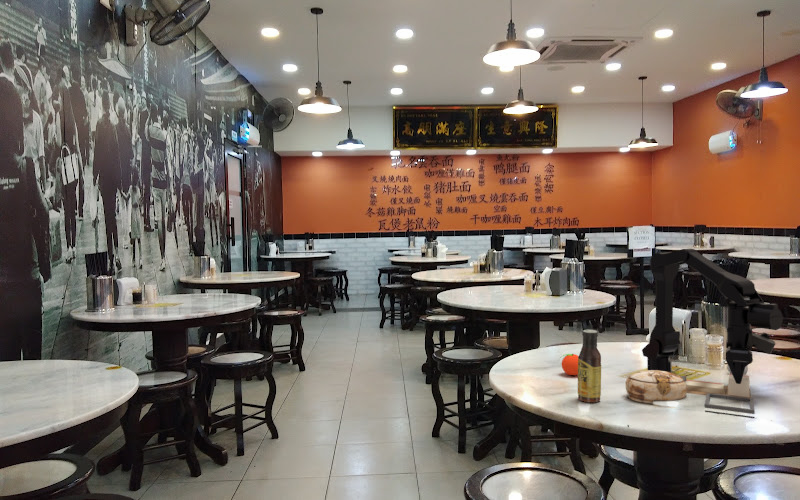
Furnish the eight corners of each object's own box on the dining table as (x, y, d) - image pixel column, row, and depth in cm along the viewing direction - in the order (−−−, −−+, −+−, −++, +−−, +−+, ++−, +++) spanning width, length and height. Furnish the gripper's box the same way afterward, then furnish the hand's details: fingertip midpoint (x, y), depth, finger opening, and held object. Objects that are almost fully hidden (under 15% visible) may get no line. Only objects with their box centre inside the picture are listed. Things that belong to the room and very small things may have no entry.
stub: (728, 394, 158) (728, 378, 158) (728, 389, 164) (728, 373, 163) (749, 397, 156) (749, 380, 156) (748, 391, 161) (749, 375, 161)
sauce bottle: (574, 397, 163) (573, 328, 162) (595, 396, 164) (594, 327, 163) (583, 404, 157) (582, 333, 156) (605, 403, 157) (605, 332, 156)
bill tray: (704, 411, 149) (704, 404, 149) (706, 399, 158) (706, 392, 158) (754, 418, 143) (754, 410, 143) (753, 405, 153) (753, 398, 152)
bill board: (676, 395, 162) (676, 383, 162) (680, 384, 173) (680, 373, 173) (750, 404, 153) (751, 392, 153) (749, 392, 164) (749, 380, 163)
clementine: (557, 376, 185) (556, 355, 184) (559, 371, 191) (559, 350, 191) (582, 378, 182) (582, 356, 181) (584, 373, 188) (584, 352, 188)
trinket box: (618, 397, 163) (618, 370, 162) (651, 388, 170) (651, 362, 170) (660, 410, 151) (660, 381, 151) (694, 400, 159) (694, 372, 158)
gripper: (775, 332, 147) (774, 392, 148) (771, 320, 163) (770, 374, 164) (725, 329, 152) (725, 386, 153) (726, 318, 168) (726, 370, 169)
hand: (738, 379), depth 160 cm, fingers open, 9 cm apart
